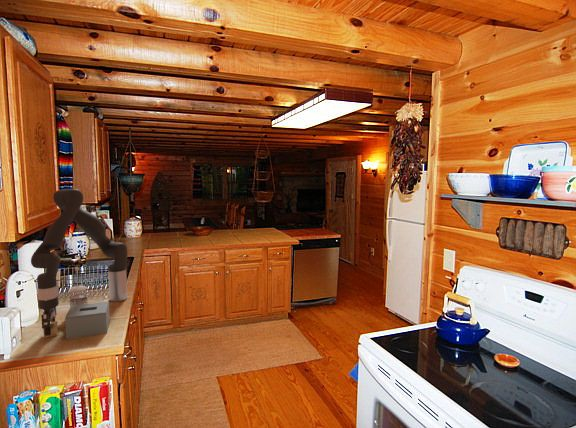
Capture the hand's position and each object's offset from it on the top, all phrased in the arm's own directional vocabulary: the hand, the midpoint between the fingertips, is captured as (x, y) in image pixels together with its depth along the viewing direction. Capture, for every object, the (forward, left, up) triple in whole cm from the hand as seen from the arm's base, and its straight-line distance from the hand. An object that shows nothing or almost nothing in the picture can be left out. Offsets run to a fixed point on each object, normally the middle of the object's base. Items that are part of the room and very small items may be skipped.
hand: (50, 330), depth 156 cm
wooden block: (0, 0, -2) cm, 2 cm away
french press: (-20, +8, -2) cm, 22 cm away
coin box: (-1, +15, -2) cm, 15 cm away
